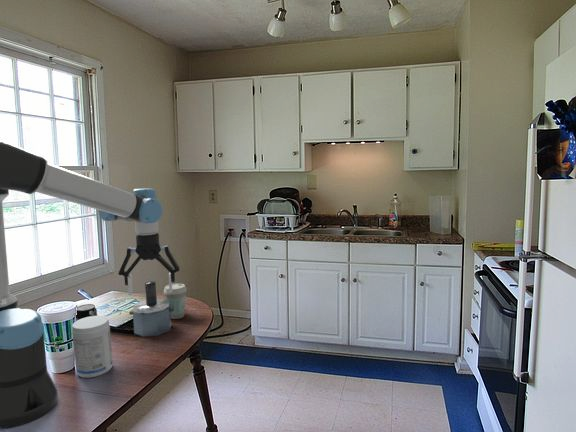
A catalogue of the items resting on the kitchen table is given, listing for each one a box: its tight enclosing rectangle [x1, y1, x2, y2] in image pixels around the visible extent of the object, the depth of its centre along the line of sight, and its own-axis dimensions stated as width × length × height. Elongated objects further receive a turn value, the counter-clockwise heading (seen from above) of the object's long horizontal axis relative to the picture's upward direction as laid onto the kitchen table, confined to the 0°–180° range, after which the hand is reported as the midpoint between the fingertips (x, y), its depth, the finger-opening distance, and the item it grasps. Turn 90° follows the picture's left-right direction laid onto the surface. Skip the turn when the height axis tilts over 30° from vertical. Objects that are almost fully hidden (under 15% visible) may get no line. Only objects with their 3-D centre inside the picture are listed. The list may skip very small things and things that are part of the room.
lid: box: [133, 280, 169, 314], centre depth 142 cm, size 12×12×9 cm
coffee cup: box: [163, 283, 187, 320], centre depth 155 cm, size 8×9×12 cm
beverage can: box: [76, 303, 98, 321], centre depth 134 cm, size 7×7×12 cm
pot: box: [129, 304, 174, 338], centre depth 143 cm, size 12×15×8 cm
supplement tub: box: [71, 315, 114, 379], centre depth 114 cm, size 10×10×15 cm
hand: (151, 292), depth 142 cm, fingers open, 13 cm apart
